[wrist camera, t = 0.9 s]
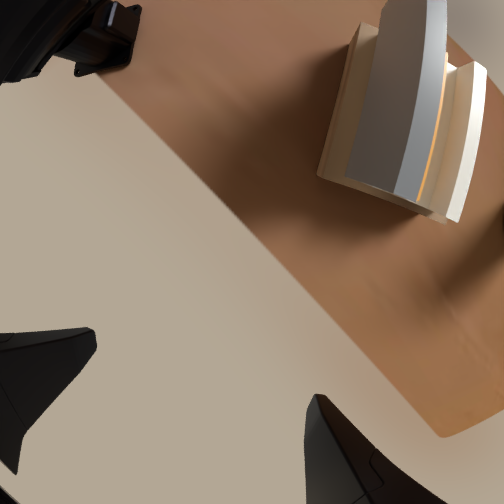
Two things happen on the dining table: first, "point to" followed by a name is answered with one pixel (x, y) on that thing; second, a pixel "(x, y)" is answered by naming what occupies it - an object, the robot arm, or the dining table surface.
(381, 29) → the lid
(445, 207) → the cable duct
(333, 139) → the wooden base
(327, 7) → the dining table surface
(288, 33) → the dining table surface
